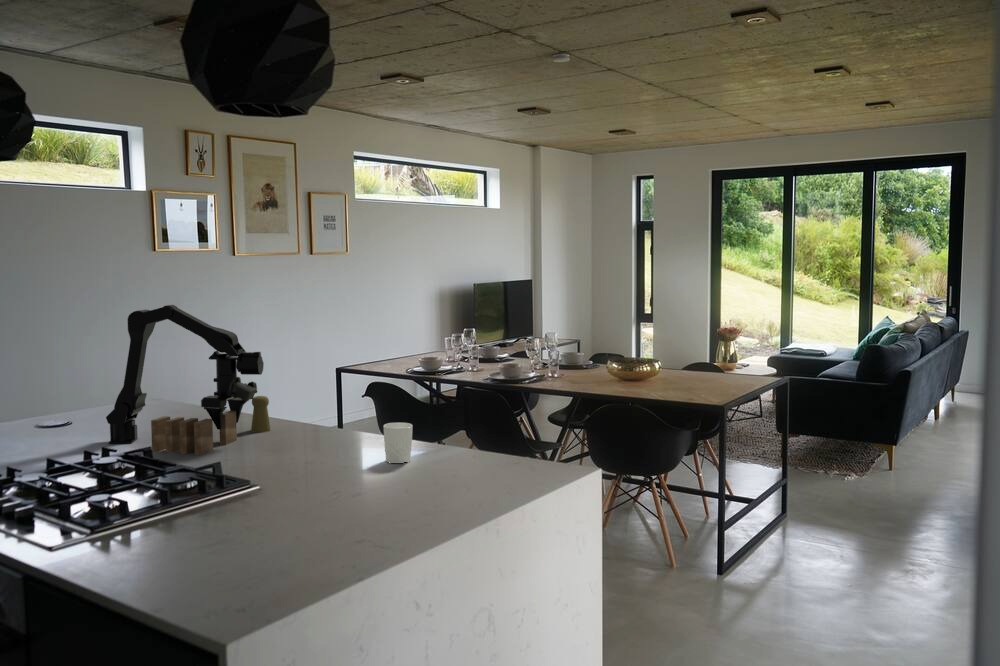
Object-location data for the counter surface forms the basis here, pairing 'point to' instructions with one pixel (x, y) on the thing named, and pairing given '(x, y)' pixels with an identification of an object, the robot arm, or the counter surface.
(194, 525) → the counter surface
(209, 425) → the walnut domino
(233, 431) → the walnut domino
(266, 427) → the olive yellow rounded piece
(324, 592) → the counter surface
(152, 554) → the counter surface
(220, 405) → the robot arm
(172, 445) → the walnut domino
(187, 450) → the walnut domino
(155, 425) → the walnut domino
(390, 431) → the white cup
